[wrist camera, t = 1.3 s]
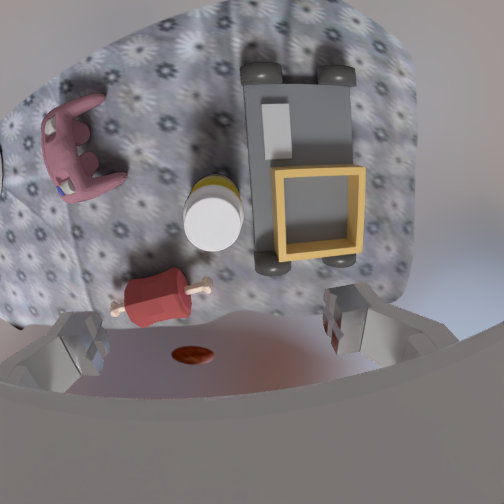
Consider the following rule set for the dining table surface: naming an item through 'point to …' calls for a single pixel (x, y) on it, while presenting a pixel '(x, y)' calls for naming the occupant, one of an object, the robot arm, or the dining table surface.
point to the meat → (159, 297)
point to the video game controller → (74, 152)
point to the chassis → (302, 168)
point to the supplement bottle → (213, 213)
